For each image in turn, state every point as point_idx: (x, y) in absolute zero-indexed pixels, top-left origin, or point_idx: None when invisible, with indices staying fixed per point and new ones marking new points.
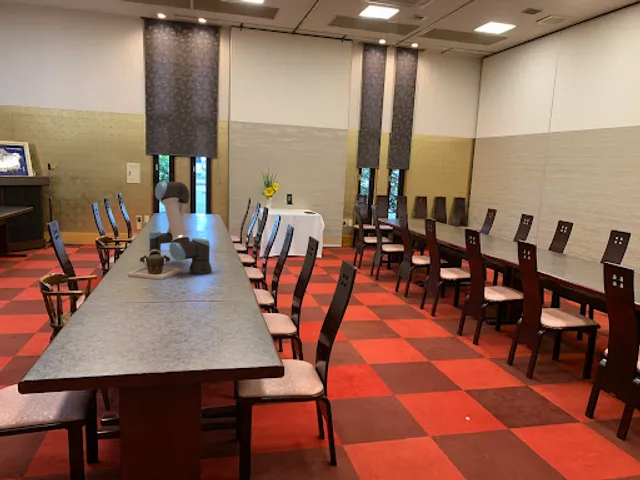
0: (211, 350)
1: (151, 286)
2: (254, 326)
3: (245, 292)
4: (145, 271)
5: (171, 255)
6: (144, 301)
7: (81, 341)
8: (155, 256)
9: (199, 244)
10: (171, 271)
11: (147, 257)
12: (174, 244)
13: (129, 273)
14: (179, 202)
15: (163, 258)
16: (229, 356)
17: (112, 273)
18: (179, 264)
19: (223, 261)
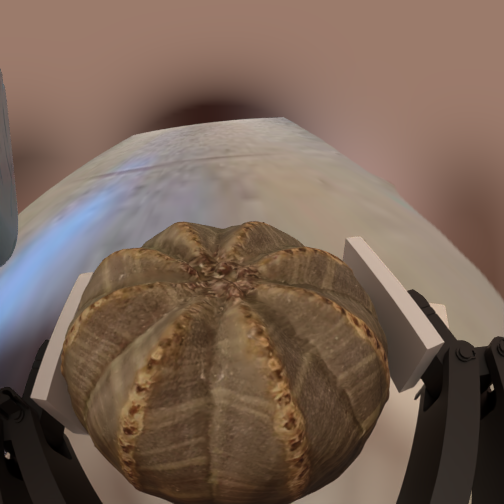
0: (166, 132)
1: (232, 210)
2: (109, 151)
3: (25, 211)
4: (372, 471)
5: (6, 226)
6: (234, 157)
7: (276, 125)
8: (203, 229)
9: None
10: (82, 466)
11: (448, 449)
12: (2, 79)
13: (431, 306)
14: None
15: (60, 469)
16: (157, 132)
17: None
18: None
19: None
